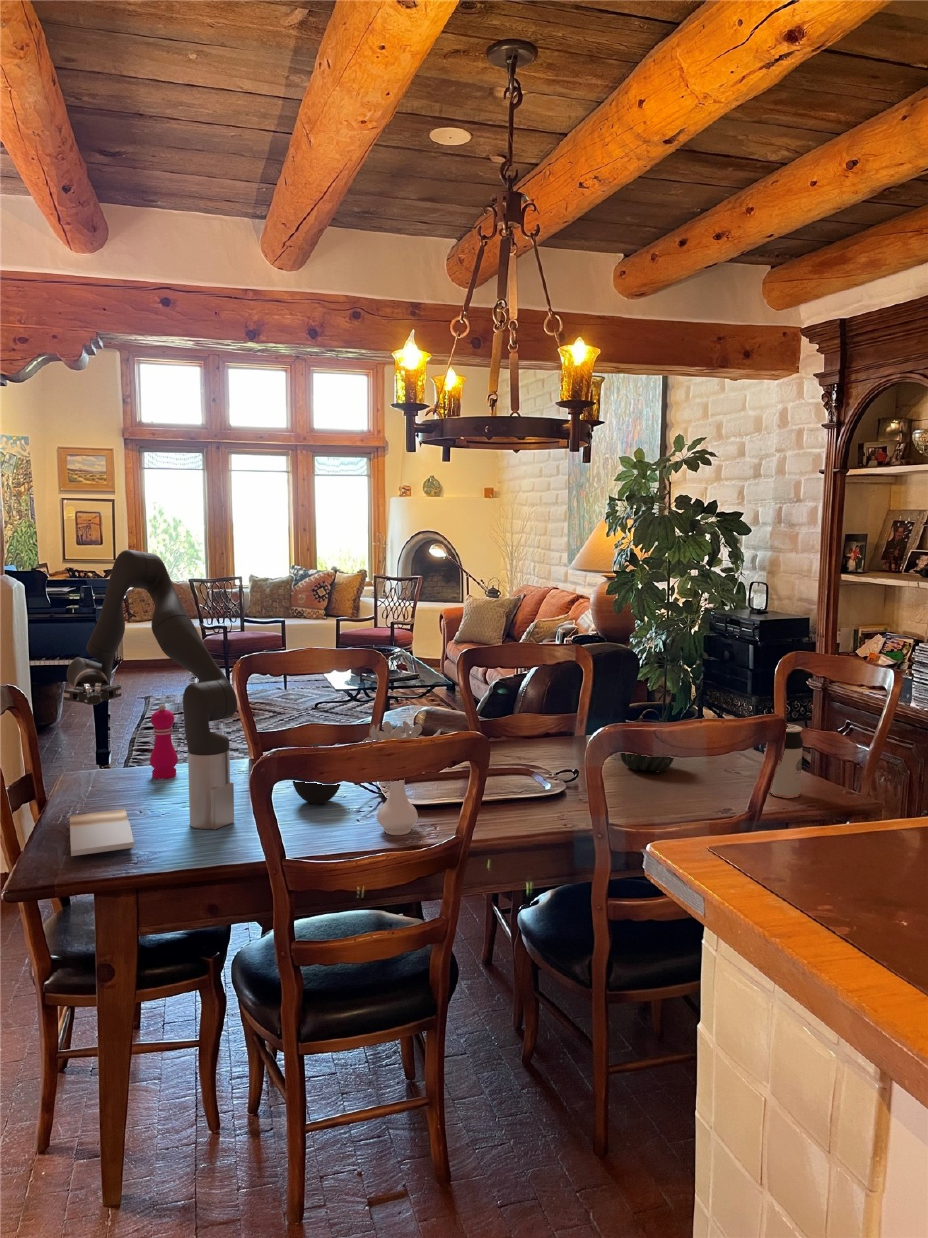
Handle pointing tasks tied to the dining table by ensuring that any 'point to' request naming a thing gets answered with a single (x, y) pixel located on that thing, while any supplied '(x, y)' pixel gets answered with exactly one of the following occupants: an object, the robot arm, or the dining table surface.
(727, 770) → the dining table surface
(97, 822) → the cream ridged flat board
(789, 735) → the travel mug
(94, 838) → the white flat rectangular panel
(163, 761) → the pepper mill
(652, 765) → the squash
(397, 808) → the flower vase
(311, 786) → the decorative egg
